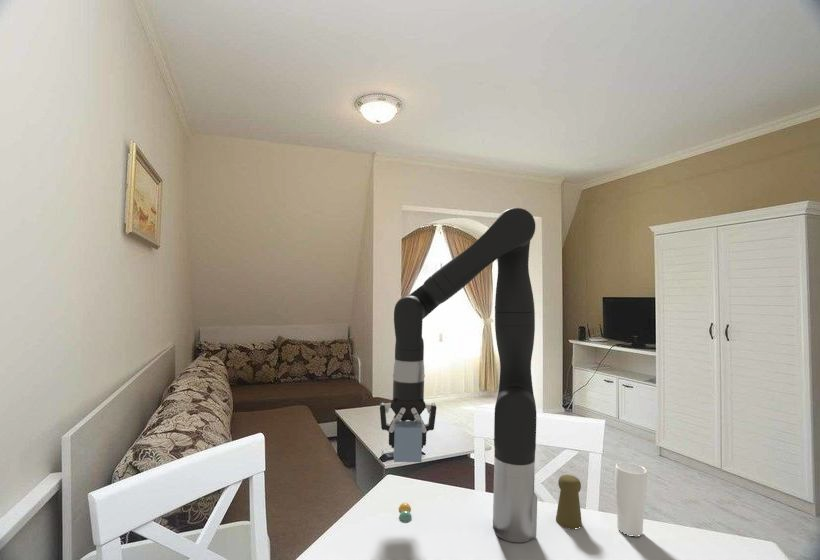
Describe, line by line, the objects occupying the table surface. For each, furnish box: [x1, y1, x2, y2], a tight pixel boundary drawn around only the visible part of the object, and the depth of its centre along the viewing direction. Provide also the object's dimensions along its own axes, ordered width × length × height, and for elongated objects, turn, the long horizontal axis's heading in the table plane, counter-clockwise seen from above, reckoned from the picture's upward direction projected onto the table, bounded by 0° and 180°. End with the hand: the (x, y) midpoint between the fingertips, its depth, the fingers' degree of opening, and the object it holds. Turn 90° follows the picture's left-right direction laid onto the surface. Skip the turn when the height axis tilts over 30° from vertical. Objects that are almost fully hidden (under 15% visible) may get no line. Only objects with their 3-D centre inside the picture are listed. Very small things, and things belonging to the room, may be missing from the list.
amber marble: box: [398, 502, 412, 513], centre depth 106 cm, size 3×3×3 cm
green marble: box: [398, 511, 413, 522], centre depth 102 cm, size 3×3×3 cm
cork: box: [555, 474, 583, 530], centre depth 105 cm, size 6×6×11 cm
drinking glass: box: [614, 461, 648, 536], centre depth 101 cm, size 7×7×15 cm
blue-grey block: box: [393, 420, 423, 463], centre depth 104 cm, size 9×6×8 cm
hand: (407, 446), depth 104 cm, fingers closed on blue-grey block, 6 cm apart
